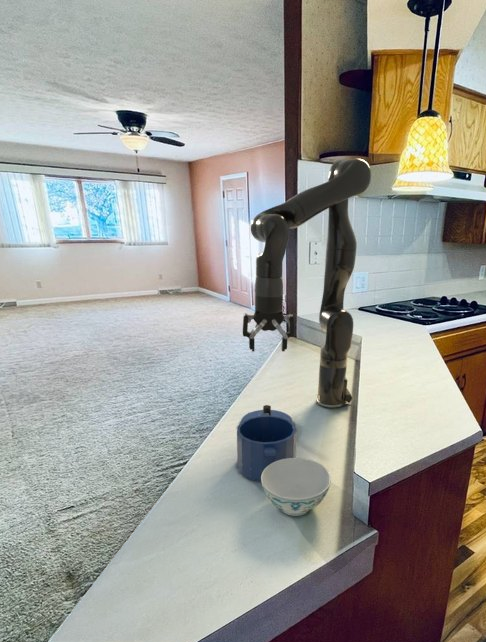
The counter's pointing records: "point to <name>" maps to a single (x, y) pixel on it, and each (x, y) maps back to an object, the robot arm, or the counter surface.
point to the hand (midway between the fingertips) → (268, 350)
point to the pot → (264, 443)
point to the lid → (268, 410)
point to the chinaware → (295, 484)
